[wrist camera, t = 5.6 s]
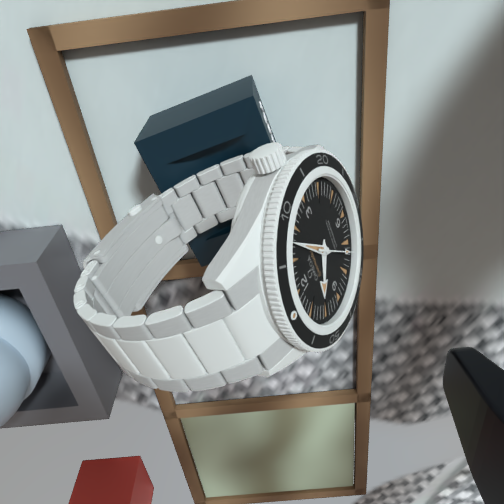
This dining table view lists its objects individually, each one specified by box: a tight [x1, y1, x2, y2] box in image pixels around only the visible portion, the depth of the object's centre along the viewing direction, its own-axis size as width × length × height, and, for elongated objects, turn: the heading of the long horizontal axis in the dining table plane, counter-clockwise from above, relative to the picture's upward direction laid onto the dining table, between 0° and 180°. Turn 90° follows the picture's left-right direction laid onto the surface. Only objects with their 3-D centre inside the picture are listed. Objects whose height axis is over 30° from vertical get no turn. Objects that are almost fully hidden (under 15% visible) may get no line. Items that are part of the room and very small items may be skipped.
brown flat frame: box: [27, 0, 390, 504], centre depth 24 cm, size 13×32×1 cm, turn 7°
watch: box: [74, 75, 364, 392], centre depth 14 cm, size 6×8×11 cm
